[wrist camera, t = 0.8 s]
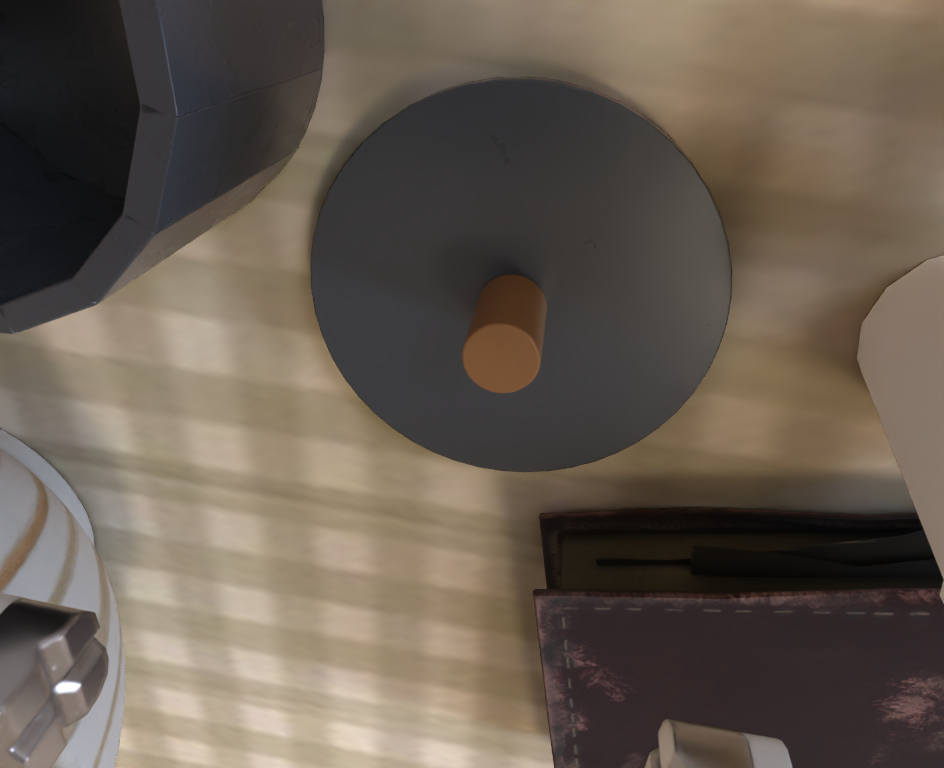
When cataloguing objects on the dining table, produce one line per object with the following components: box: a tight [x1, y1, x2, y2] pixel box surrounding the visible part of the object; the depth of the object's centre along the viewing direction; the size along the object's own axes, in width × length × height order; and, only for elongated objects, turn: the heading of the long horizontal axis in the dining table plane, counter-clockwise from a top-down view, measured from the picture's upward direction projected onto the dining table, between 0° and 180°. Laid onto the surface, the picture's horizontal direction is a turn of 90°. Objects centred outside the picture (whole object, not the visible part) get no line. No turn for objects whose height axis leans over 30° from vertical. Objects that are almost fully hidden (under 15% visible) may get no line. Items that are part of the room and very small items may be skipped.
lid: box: [311, 77, 732, 472], centre depth 23 cm, size 15×15×5 cm
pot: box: [0, 0, 324, 334], centre depth 18 cm, size 14×14×10 cm
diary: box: [533, 507, 944, 768], centre depth 30 cm, size 19×25×5 cm
